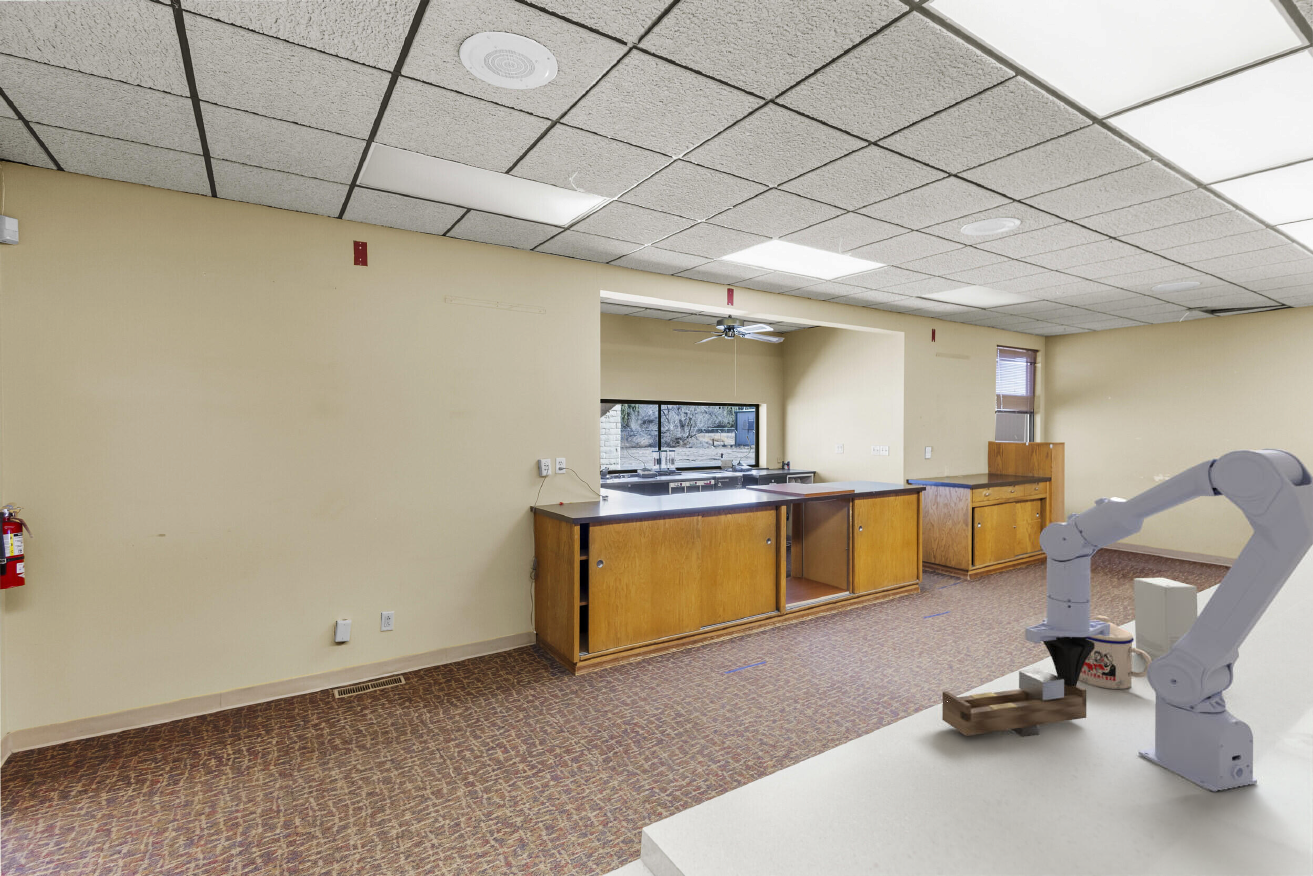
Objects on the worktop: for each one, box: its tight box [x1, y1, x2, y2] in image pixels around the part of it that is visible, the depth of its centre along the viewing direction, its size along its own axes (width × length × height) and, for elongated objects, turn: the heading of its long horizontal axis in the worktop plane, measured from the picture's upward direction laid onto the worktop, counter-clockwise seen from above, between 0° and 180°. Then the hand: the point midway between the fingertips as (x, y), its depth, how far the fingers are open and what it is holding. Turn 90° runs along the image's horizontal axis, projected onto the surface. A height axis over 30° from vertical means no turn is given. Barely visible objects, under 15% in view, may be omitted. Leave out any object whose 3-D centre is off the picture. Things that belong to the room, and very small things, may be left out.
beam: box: [941, 684, 1088, 738], centre depth 94 cm, size 22×6×6 cm, turn 104°
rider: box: [1018, 668, 1064, 701], centre depth 95 cm, size 4×4×4 cm
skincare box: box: [1133, 577, 1199, 661], centre depth 121 cm, size 8×7×16 cm
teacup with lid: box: [1078, 615, 1153, 690], centre depth 110 cm, size 12×9×12 cm
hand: (1067, 683), depth 97 cm, fingers closed
